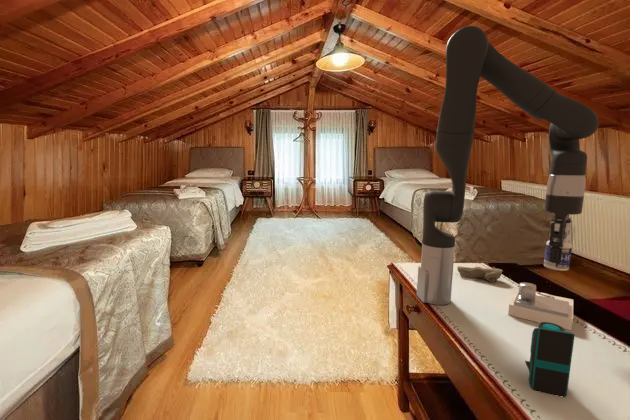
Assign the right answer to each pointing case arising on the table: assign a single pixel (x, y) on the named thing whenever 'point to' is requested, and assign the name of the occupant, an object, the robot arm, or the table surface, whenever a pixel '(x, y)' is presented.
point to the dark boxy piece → (550, 359)
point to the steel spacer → (527, 291)
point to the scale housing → (540, 315)
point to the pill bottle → (564, 257)
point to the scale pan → (545, 305)
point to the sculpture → (480, 273)
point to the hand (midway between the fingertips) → (556, 260)
